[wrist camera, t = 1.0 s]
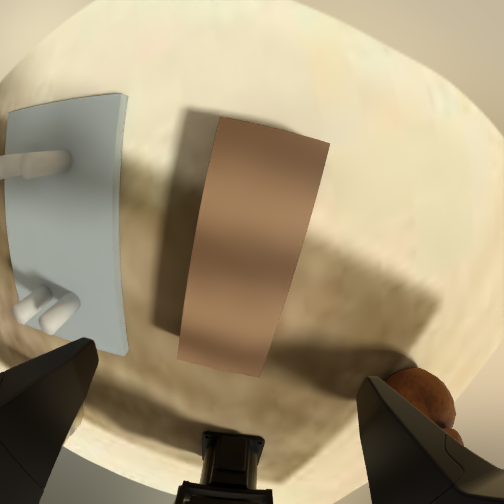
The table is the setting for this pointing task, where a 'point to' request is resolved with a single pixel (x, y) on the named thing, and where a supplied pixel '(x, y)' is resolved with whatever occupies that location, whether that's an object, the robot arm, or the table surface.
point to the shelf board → (247, 243)
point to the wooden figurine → (427, 397)
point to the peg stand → (67, 217)
